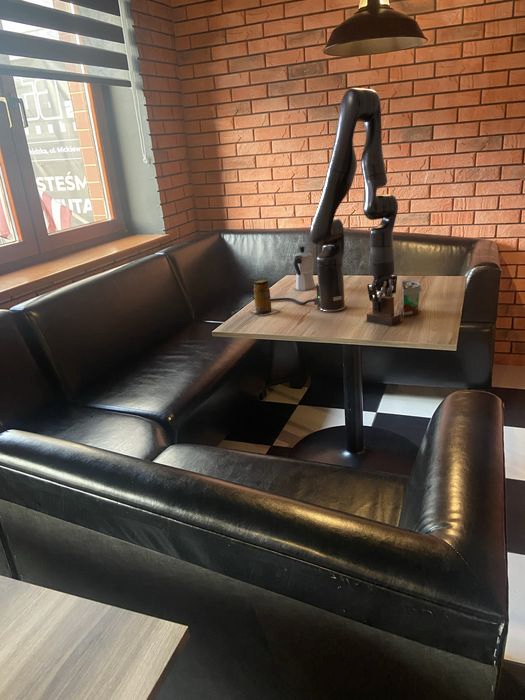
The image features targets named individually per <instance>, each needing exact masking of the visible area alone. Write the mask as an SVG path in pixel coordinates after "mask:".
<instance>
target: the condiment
mask: <svg viewBox="0 0 525 700" xmlns="http://www.w3.org/2000/svg"><path fill="white" fill-rule="evenodd" d="M253 297H254V298H255V299H254V306H255V310H251V311H250V312H251V313H254V314H256V315H258V316H267V315H273V314H277V313H278V312H279V311H278V310H275V309H272V301H271V299H272V298H271V290H270V287H269V281H268V280H267V279H257V280H254V282H253Z"/></svg>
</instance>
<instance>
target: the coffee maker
mask: <svg viewBox="0 0 525 700" xmlns="http://www.w3.org/2000/svg"><path fill="white" fill-rule="evenodd" d="M292 257H293V266H294V269H295V272H296V274H295V287H294V289H295V290H296V291H310V290H314V289H315V288H316V283H315V279H314V276H313V272H312V270H313V253H311V252H306V251H305V246H304V245H303V246H299V252H298V253H295V254H293V255H292Z"/></svg>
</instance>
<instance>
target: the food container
mask: <svg viewBox="0 0 525 700" xmlns="http://www.w3.org/2000/svg"><path fill="white" fill-rule="evenodd" d="M401 282H402V283H401V290H402V291H401V293H402V294H401V295H402V298H401V299H402V314H403V317H404V318H405V317H407V318H408V317H413V316H416V315H418V314H419V304H420V302H419V301H420V293H421V292H422V286H421V284H420V282H419V281H414V280H402V281H401Z"/></svg>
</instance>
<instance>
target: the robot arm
mask: <svg viewBox="0 0 525 700" xmlns="http://www.w3.org/2000/svg"><path fill="white" fill-rule="evenodd" d="M338 111H339V112H338V117H337V122H336V123H337V124H336V130H335V136H334V141H333V146H332V151H331V155H330V158H329V162H328V166H327V169H326V174H325V178H324V183H323V186H322V191H321V194H320V199H319V201H318V205H317V208H316V211H315V214H314V216H313V220H312V222H311V226H310V230H309V236H310V240H311V242H312V243H313V244H314V245H315V246H316V247H322V250H321V251H320V253H319V254H317V255H316V269H317V270H316V271H317V283H316V284H315V288H316V297H314V298H311V299H308V300H305V301H299V300H297V299H295V298H292V297H277V298H276V297H275V298H270V299H271V302H278V301H291V302H294V303H296V304H298V305H300V306H301V305H303V306H304V305H306V304H308V303H313V304H314V306H315V305H316V306H317V309H318V310H320V311H321V312H324V313H335V312H340V311H343V310H345V309H346V302H345V301H346V299H345V283H344V265H343V263H344V261H343V258H344V255H345V227H344V224H343V222H342V221H341V219H340V218H339V217H337V216H336V214H337V211H338V209H339V207H340V205H341V204H342V202H343V201H344V200H345V198H346V197H347V195H348V193H349V191H350V190H351V188H352V186H353V183H354V180H355V176H356V173H357V169H358V160H357V155H356V151H355V146H354V135H355V132H356V127H357V123H358V122H362V123H363V126H364V129H365V130H364V131H365V140H364V146H363V149H362V153H361V159H360V168H361V174H362V178H363V179H362V180H363V185H364V186H363V187H364V189H363V203H362V212H363V214H364V217H366V219H368V220H370V221H375V220H381V221H380V223H379V224H377V225H376V226H374V227H372V228H371V229H370V230H369V248H370V249H369V271H370V275H371V276H372V277H373V279H372V282H371V283H367V285H366V286H367V293H368V300H369V301H370V302H372V301H374V310H375V312H377V313H380V312H382V308H381V298H382V296H390V297H394V294H395V295H396V292H397V284H398V275H394V273H395V250H394V237H393V236H394V235H393V234H394V233H393V232H394V228H395V223H396V219H397V215H398V211H399V203H398V200H397V198H396V196H395V195H394V194H390V193H389V194H380V195H377V191H378V190H379V189H382V188H383V187H385V186H386V185H387V184H388V176H387V170H386V164H385V160H384V154H383V153H384V152H383V136H382V132H383V131H382V129H383V128H382V104H381V99H380V95H379V93H378V92H377V91H375V90H374V89H371V88H361V87H360V88H359V87H351V88H349V89H347V90H346V91H345V92H344V94H343V96H342V98H341V101H340V105H339V109H338ZM377 295H379V297H377ZM372 296H373V297H372ZM252 300H255V298H254V296H253V297H252Z"/></svg>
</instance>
